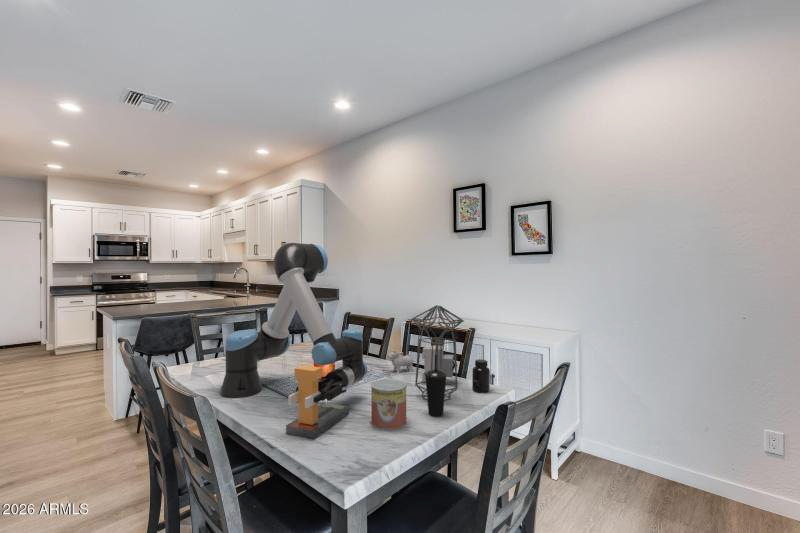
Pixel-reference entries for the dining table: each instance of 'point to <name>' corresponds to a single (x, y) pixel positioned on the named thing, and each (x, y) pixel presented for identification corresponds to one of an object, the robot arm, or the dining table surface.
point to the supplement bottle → (481, 377)
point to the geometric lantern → (440, 309)
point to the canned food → (388, 404)
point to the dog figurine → (400, 360)
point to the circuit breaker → (447, 361)
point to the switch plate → (319, 421)
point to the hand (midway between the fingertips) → (297, 402)
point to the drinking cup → (435, 390)
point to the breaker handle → (307, 392)
